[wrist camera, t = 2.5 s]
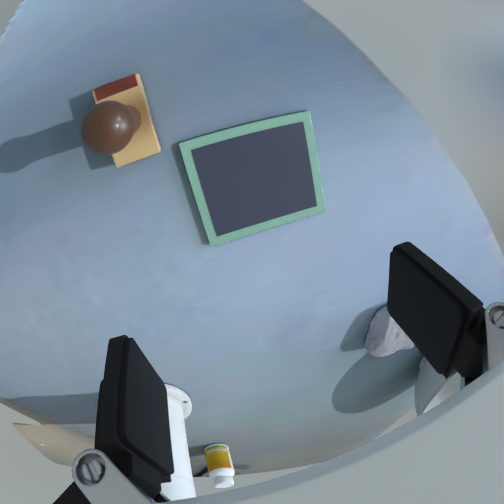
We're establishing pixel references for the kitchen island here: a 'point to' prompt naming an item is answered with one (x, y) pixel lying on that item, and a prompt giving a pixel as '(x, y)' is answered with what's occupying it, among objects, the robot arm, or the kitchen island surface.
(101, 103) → the stamp
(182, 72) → the kitchen island surface
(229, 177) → the ink pad
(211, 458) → the supplement bottle
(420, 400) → the decorative bowl
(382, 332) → the stone block
